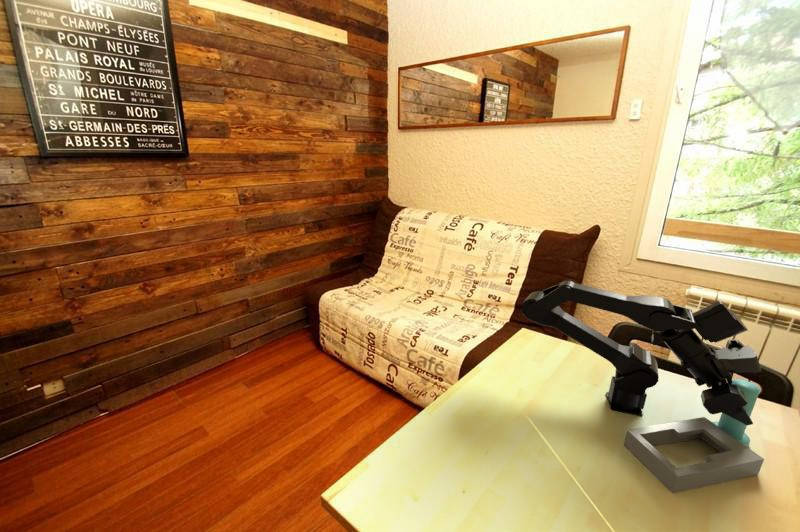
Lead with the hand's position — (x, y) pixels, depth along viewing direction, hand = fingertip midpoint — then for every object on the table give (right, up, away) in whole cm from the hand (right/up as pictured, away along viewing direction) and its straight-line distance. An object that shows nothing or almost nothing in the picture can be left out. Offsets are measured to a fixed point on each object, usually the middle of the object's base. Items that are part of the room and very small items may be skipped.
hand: (746, 414), depth 72 cm
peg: (-1, -6, +3) cm, 7 cm away
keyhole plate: (-14, -8, -3) cm, 16 cm away
